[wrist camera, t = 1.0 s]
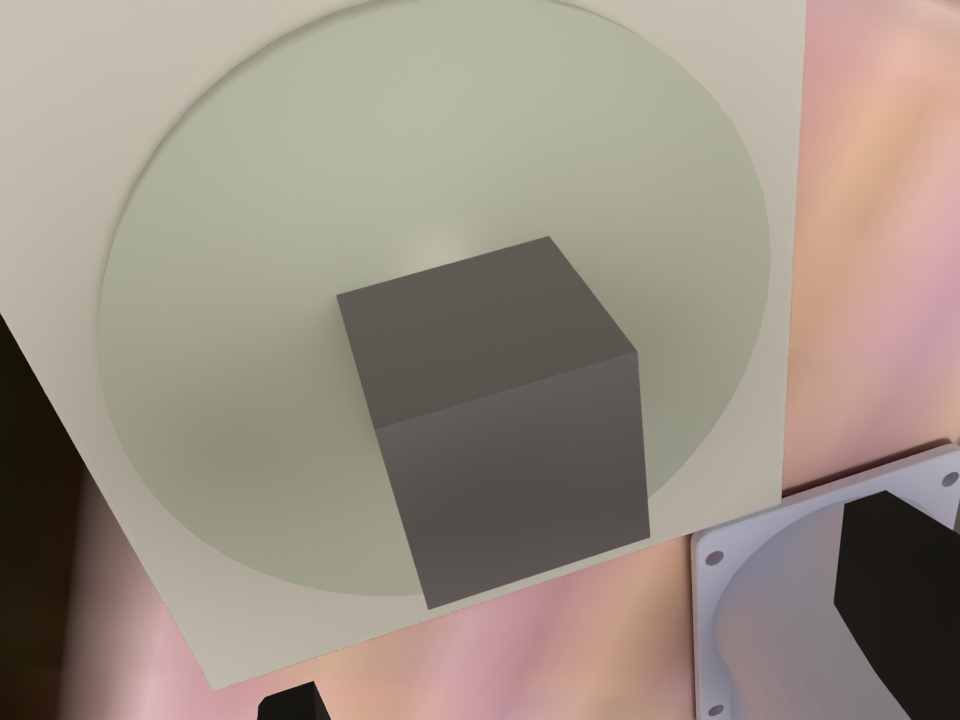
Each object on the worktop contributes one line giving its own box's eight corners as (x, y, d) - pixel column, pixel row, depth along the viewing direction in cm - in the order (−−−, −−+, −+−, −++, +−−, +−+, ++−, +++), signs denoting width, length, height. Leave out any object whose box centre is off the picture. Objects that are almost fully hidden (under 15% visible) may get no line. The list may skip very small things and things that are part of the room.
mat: (773, 493, 24) (780, 503, 24) (212, 677, 22) (213, 691, 22) (803, -210, 15) (817, -210, 14) (-161, 3, 13) (-171, 10, 12)
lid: (746, 473, 23) (861, 619, 19) (234, 638, 21) (246, 835, 17) (757, -92, 15) (954, -41, 11) (-42, 97, 13) (-131, 233, 10)
